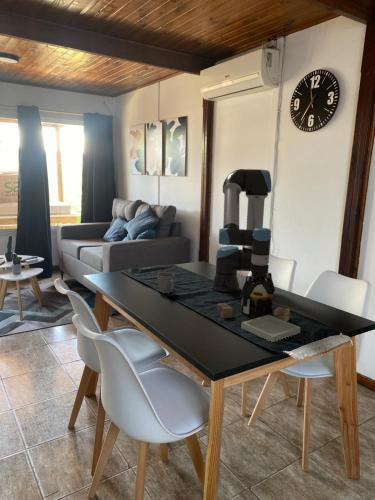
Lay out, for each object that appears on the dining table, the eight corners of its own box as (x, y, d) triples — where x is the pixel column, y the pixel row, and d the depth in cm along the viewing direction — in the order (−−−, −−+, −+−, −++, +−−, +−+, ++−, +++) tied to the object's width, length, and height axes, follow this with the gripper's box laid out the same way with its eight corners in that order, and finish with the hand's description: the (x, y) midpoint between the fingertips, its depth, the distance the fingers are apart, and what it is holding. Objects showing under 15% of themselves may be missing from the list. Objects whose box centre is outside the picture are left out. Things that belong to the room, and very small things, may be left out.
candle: (254, 321, 159) (255, 298, 157) (240, 313, 167) (241, 292, 166) (272, 317, 163) (274, 295, 161) (258, 310, 172) (259, 289, 170)
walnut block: (216, 312, 167) (217, 303, 166) (225, 312, 168) (226, 302, 168) (222, 318, 161) (223, 308, 160) (232, 317, 162) (232, 308, 161)
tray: (241, 328, 150) (241, 322, 150) (268, 319, 160) (268, 314, 160) (272, 342, 138) (273, 336, 137) (300, 333, 147) (300, 327, 147)
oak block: (273, 320, 160) (274, 309, 159) (277, 317, 164) (278, 306, 163) (285, 323, 157) (286, 312, 156) (289, 319, 161) (289, 309, 160)
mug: (154, 290, 196) (154, 273, 194) (168, 288, 201) (169, 271, 199) (165, 297, 186) (165, 278, 184) (180, 294, 191) (180, 276, 189)
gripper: (245, 268, 151) (242, 318, 154) (285, 262, 165) (281, 307, 169) (233, 265, 156) (230, 312, 160) (272, 259, 171) (269, 303, 175)
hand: (256, 310), depth 165 cm, fingers open, 13 cm apart
